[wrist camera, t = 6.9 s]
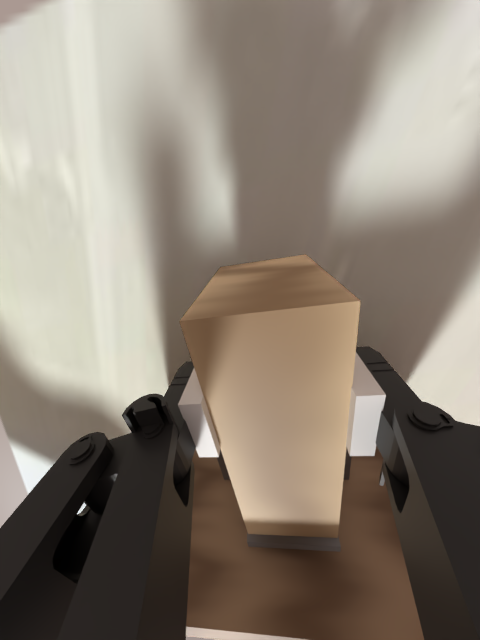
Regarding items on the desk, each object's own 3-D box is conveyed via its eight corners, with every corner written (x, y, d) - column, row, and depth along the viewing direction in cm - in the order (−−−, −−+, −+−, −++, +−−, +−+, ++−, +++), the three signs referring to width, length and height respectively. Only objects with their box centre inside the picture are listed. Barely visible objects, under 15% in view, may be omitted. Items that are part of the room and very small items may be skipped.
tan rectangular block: (252, 429, 17) (248, 546, 11) (219, 267, 11) (173, 326, 5) (310, 427, 16) (340, 551, 10) (306, 254, 11) (369, 305, 5)
